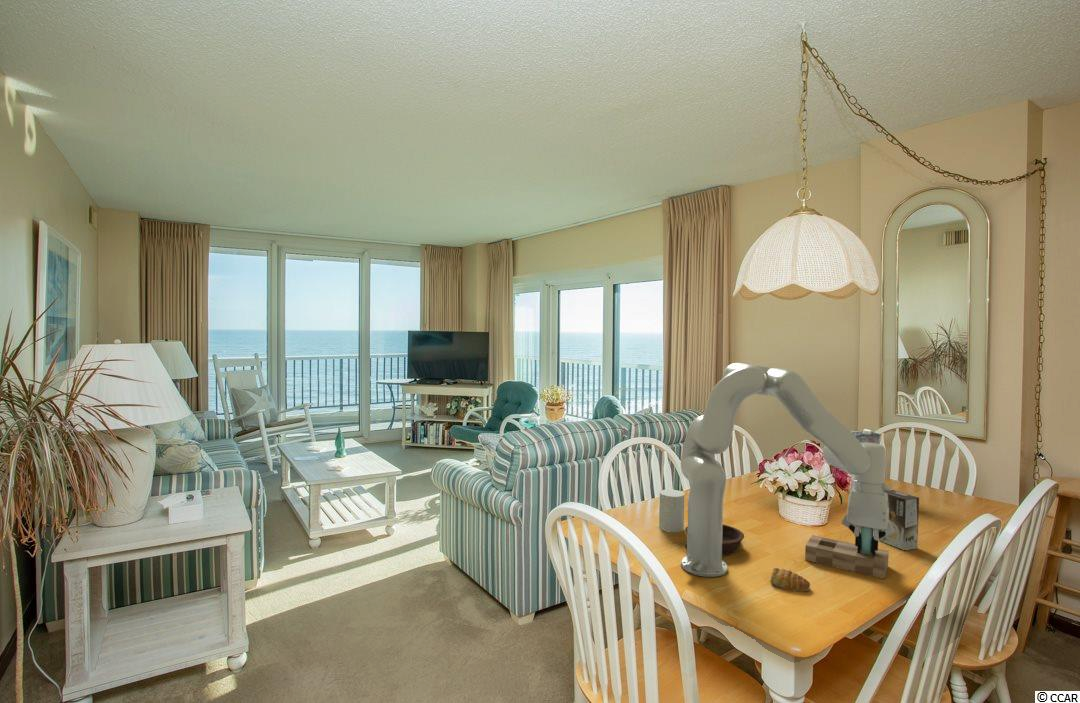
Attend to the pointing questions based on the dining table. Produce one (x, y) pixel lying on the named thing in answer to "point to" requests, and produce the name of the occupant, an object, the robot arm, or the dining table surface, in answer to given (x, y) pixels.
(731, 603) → the dining table surface
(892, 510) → the coffee box
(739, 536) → the dish
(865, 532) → the peg
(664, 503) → the grey cylinder
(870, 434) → the juice carton
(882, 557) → the hole block
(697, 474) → the robot arm
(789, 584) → the pastry
